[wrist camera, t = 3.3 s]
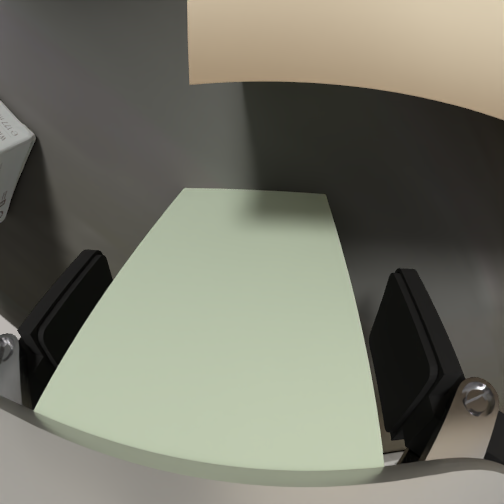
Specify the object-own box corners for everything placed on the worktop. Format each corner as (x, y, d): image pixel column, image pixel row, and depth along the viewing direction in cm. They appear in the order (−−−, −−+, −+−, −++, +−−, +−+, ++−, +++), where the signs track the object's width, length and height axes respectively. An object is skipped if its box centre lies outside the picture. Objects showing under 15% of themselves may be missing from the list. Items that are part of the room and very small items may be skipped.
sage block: (310, 304, 13) (314, 521, 5) (195, 296, 13) (129, 495, 6) (325, 194, 10) (384, 470, 3) (184, 188, 11) (31, 413, 3)
